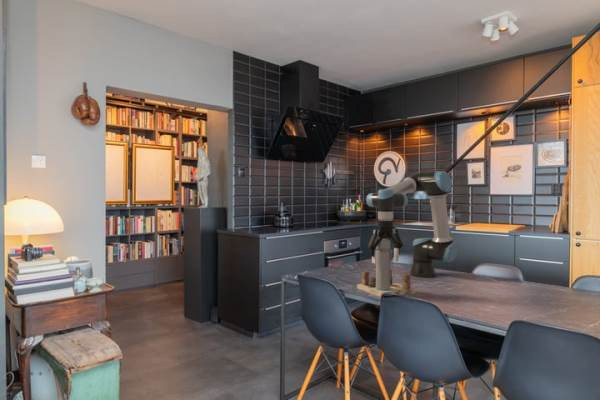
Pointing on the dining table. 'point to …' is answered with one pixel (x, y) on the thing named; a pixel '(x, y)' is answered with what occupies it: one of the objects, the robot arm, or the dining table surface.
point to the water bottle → (383, 265)
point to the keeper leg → (373, 281)
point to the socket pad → (385, 290)
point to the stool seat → (402, 288)
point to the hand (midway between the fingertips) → (385, 262)
